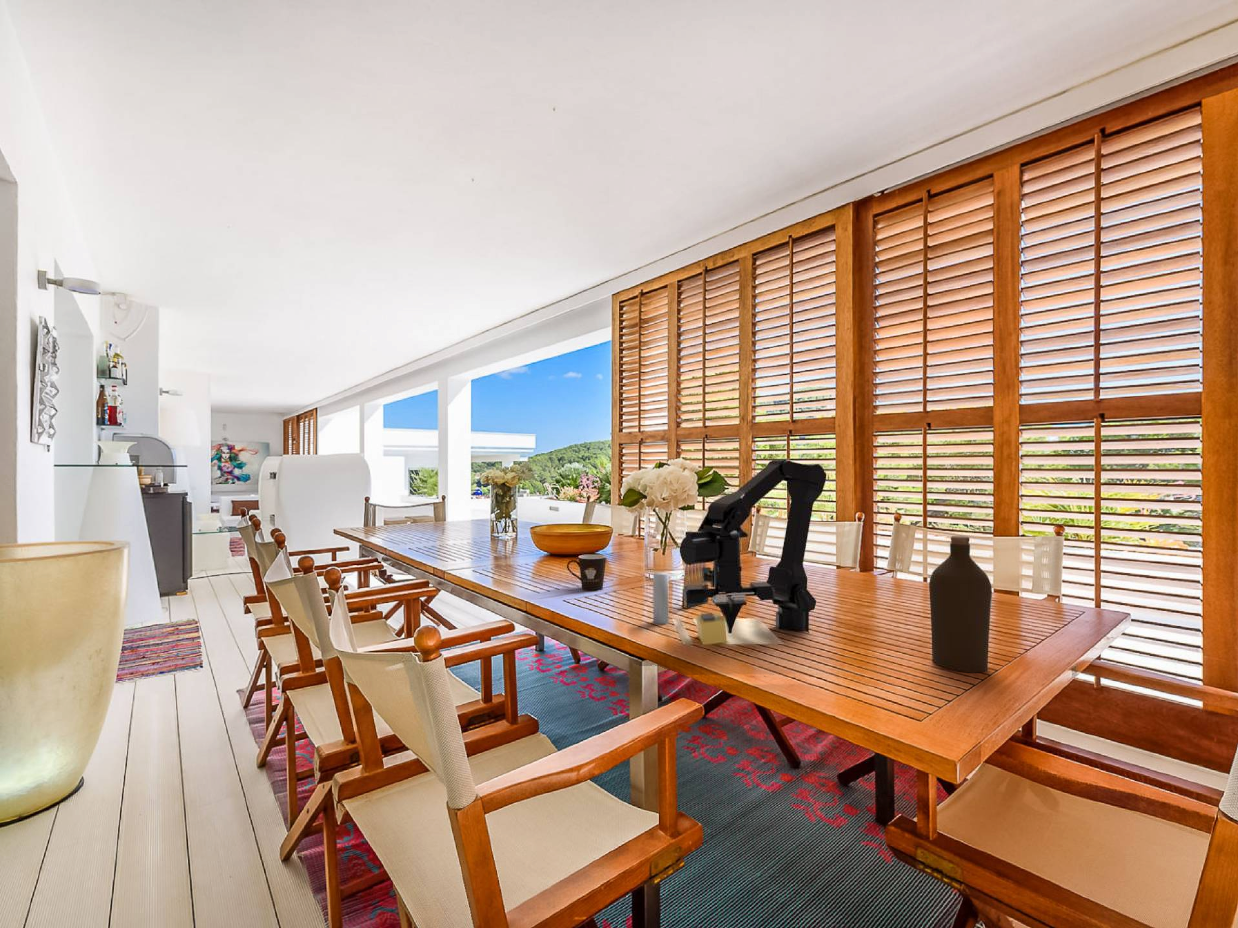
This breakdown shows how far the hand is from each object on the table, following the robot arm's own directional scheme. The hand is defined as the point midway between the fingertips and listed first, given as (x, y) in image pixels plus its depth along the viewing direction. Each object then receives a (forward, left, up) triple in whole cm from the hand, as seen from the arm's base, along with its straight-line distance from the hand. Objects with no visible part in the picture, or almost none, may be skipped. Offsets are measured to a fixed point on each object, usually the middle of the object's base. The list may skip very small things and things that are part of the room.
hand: (729, 632), depth 126 cm
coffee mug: (+31, -59, -3) cm, 67 cm away
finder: (+4, 0, -1) cm, 4 cm away
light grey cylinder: (+13, -14, -3) cm, 20 cm away
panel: (0, -7, -3) cm, 8 cm away
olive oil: (-43, +12, -3) cm, 44 cm away
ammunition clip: (+1, -37, -3) cm, 37 cm away
